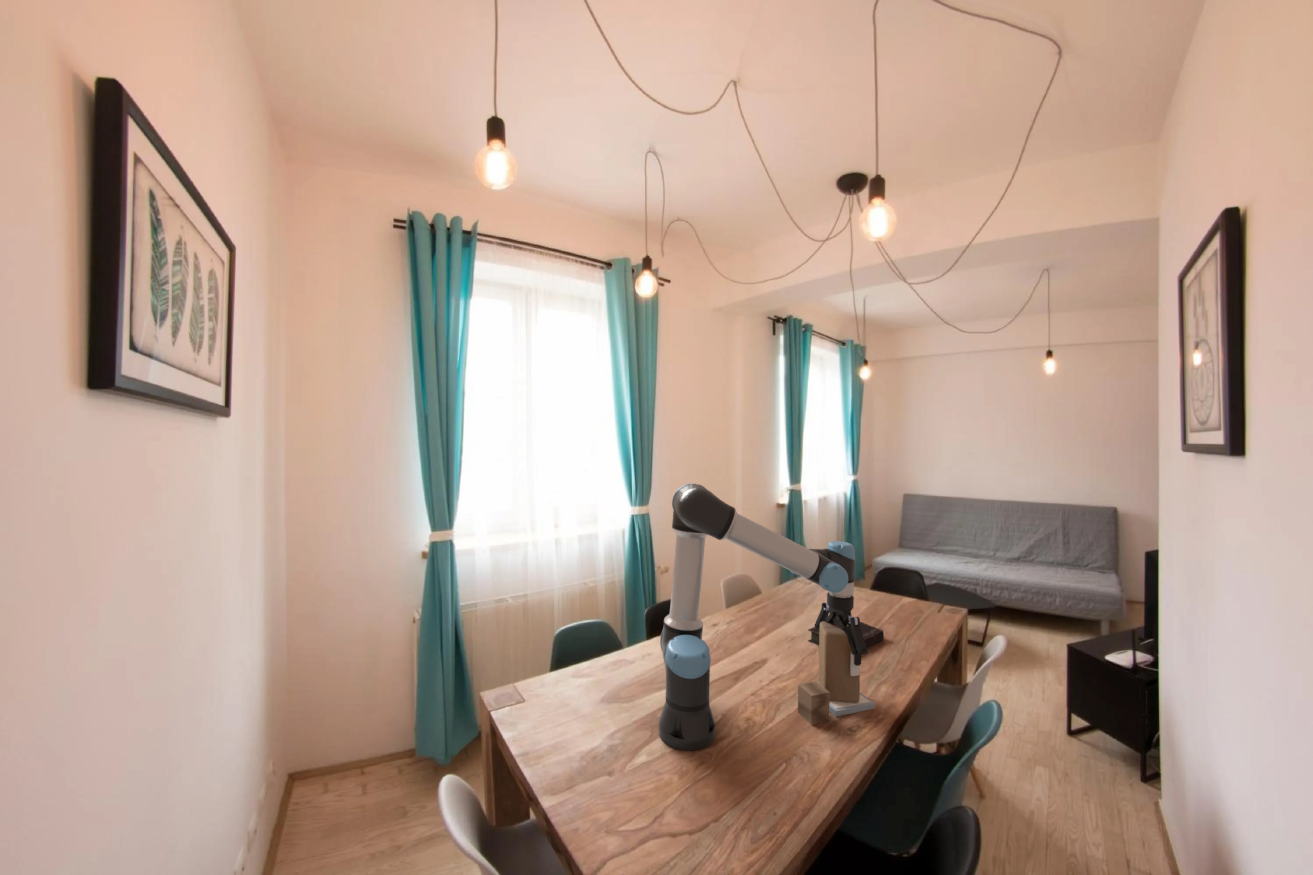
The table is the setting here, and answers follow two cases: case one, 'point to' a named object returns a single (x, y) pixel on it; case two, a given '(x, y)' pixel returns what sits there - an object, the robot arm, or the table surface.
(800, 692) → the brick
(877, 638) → the diary
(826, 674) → the block
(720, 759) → the table surface
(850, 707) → the board
